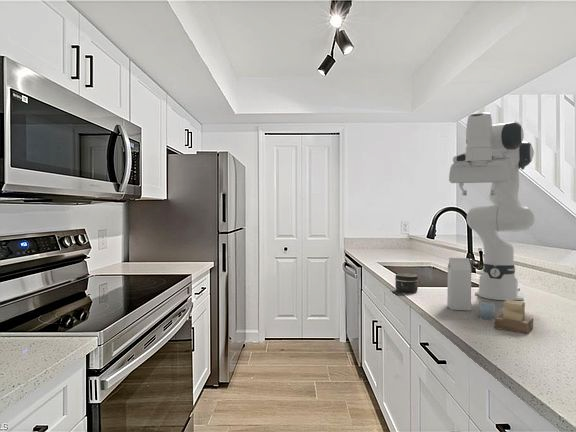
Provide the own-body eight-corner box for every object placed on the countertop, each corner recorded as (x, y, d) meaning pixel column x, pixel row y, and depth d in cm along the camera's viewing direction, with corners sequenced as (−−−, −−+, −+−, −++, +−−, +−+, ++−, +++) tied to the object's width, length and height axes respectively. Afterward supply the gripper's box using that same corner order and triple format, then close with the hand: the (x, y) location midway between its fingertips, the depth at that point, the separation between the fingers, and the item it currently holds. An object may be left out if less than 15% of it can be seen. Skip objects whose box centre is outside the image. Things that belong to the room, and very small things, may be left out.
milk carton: (471, 311, 155) (471, 259, 154) (450, 310, 156) (450, 258, 156) (466, 306, 161) (467, 257, 161) (447, 305, 163) (447, 256, 163)
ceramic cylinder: (481, 315, 148) (481, 301, 148) (496, 317, 145) (496, 303, 145) (477, 317, 145) (477, 303, 145) (492, 320, 142) (492, 305, 141)
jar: (391, 292, 191) (392, 275, 191) (399, 288, 199) (399, 272, 199) (413, 294, 185) (413, 277, 185) (420, 291, 194) (421, 274, 194)
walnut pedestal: (501, 322, 139) (502, 313, 139) (533, 327, 133) (533, 317, 133) (494, 328, 132) (494, 318, 132) (527, 333, 126) (527, 323, 126)
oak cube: (507, 315, 136) (507, 299, 136) (524, 317, 133) (524, 302, 133) (503, 318, 132) (503, 302, 132) (521, 321, 129) (521, 304, 129)
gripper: (510, 156, 152) (510, 195, 152) (450, 159, 161) (449, 195, 161) (511, 154, 146) (511, 194, 146) (448, 157, 155) (448, 195, 155)
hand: (478, 195), depth 153 cm, fingers open, 8 cm apart
